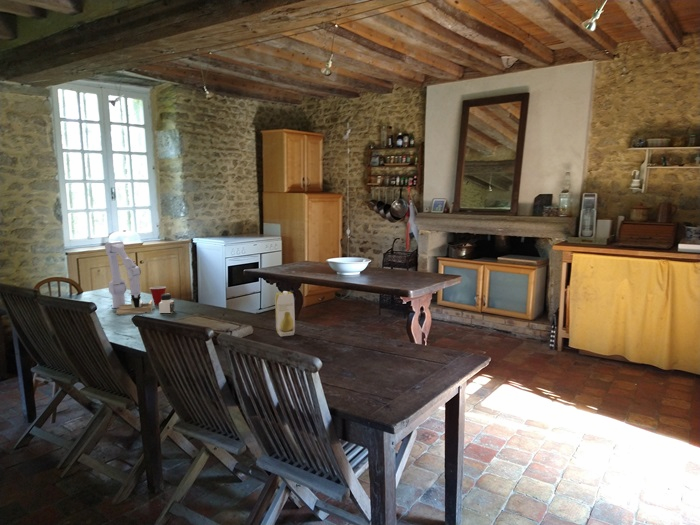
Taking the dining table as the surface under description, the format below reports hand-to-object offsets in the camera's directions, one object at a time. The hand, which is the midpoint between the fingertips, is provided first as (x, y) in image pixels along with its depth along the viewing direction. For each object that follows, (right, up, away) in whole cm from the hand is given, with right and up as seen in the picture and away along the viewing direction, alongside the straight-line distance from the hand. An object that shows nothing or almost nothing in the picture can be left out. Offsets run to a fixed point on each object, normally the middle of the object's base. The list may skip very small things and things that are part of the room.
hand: (136, 306), depth 314 cm
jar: (0, -2, 0) cm, 2 cm away
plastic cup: (+7, 0, +19) cm, 20 cm away
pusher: (+3, -2, +1) cm, 4 cm away
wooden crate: (-1, -3, 0) cm, 3 cm away
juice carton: (+103, -11, -51) cm, 115 cm away
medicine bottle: (+21, -4, -4) cm, 22 cm away
